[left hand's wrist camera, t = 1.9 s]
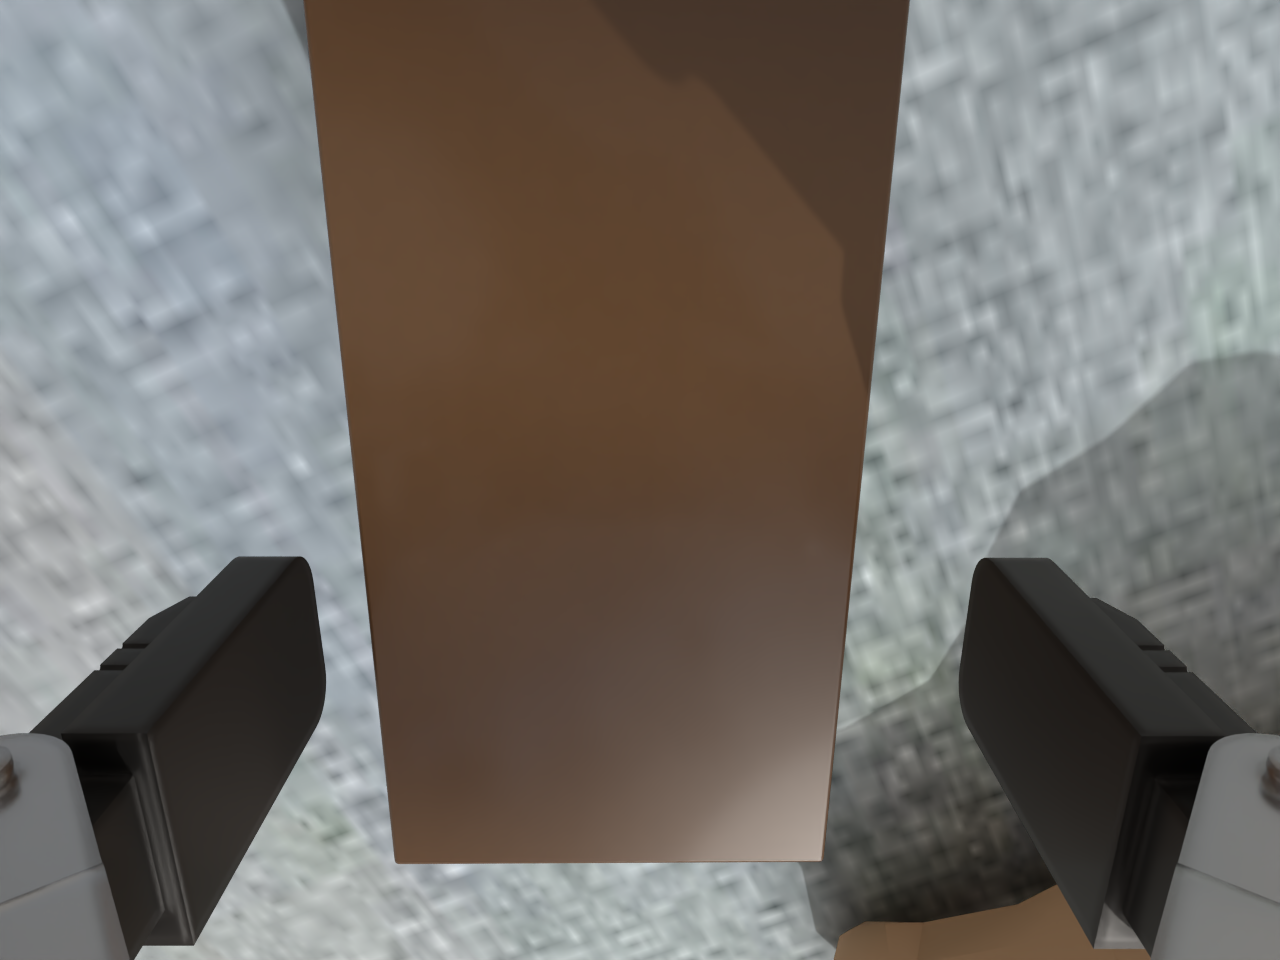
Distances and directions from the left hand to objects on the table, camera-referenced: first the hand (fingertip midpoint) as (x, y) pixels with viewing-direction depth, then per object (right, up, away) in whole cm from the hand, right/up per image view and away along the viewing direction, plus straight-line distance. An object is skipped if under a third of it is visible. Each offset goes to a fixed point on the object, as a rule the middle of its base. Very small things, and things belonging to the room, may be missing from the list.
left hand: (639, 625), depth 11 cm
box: (0, +10, +9) cm, 14 cm away
